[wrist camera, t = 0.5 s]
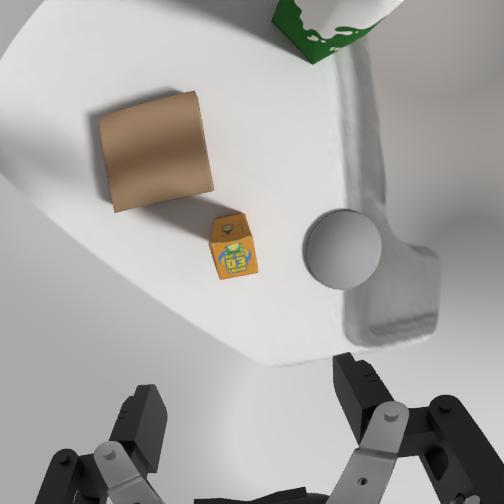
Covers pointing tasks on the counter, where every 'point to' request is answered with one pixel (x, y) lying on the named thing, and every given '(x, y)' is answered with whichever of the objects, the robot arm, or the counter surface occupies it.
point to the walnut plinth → (155, 152)
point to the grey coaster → (344, 250)
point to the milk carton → (329, 23)
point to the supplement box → (233, 247)
